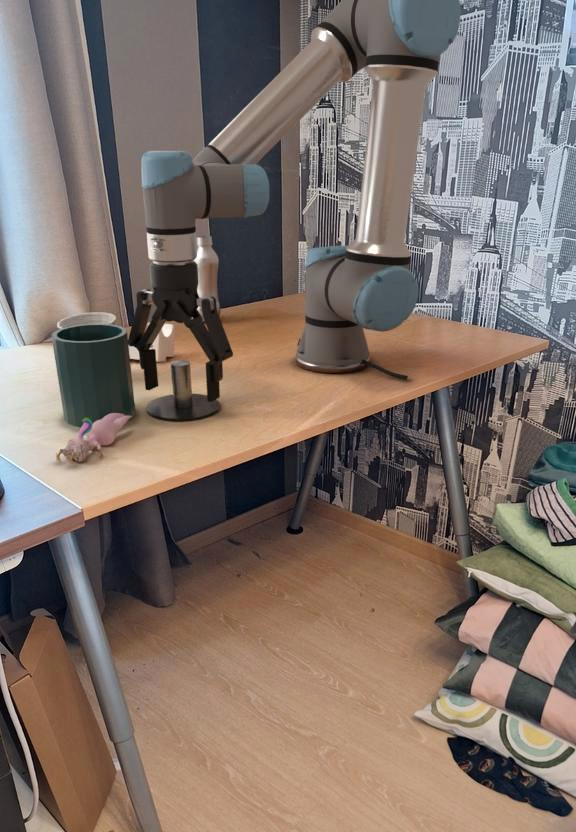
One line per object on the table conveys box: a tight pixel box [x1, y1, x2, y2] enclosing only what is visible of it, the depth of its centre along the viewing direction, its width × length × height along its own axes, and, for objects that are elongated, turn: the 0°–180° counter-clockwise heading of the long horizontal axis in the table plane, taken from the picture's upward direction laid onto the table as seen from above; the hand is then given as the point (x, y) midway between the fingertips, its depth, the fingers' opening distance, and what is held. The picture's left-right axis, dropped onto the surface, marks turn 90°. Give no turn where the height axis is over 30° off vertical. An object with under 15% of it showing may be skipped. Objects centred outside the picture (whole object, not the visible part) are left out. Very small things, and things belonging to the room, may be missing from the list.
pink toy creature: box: [55, 413, 133, 468], centre depth 109 cm, size 6×6×15 cm
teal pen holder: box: [51, 324, 137, 428], centre depth 118 cm, size 12×12×14 cm
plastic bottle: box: [193, 235, 222, 323], centre depth 175 cm, size 6×7×20 cm
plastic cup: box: [56, 311, 117, 330], centre depth 136 cm, size 11×11×12 cm
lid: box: [145, 359, 221, 422], centre depth 122 cm, size 13×13×9 cm
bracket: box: [128, 322, 176, 363], centre depth 151 cm, size 13×7×8 cm, turn 72°
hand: (182, 393), depth 123 cm, fingers open, 12 cm apart
